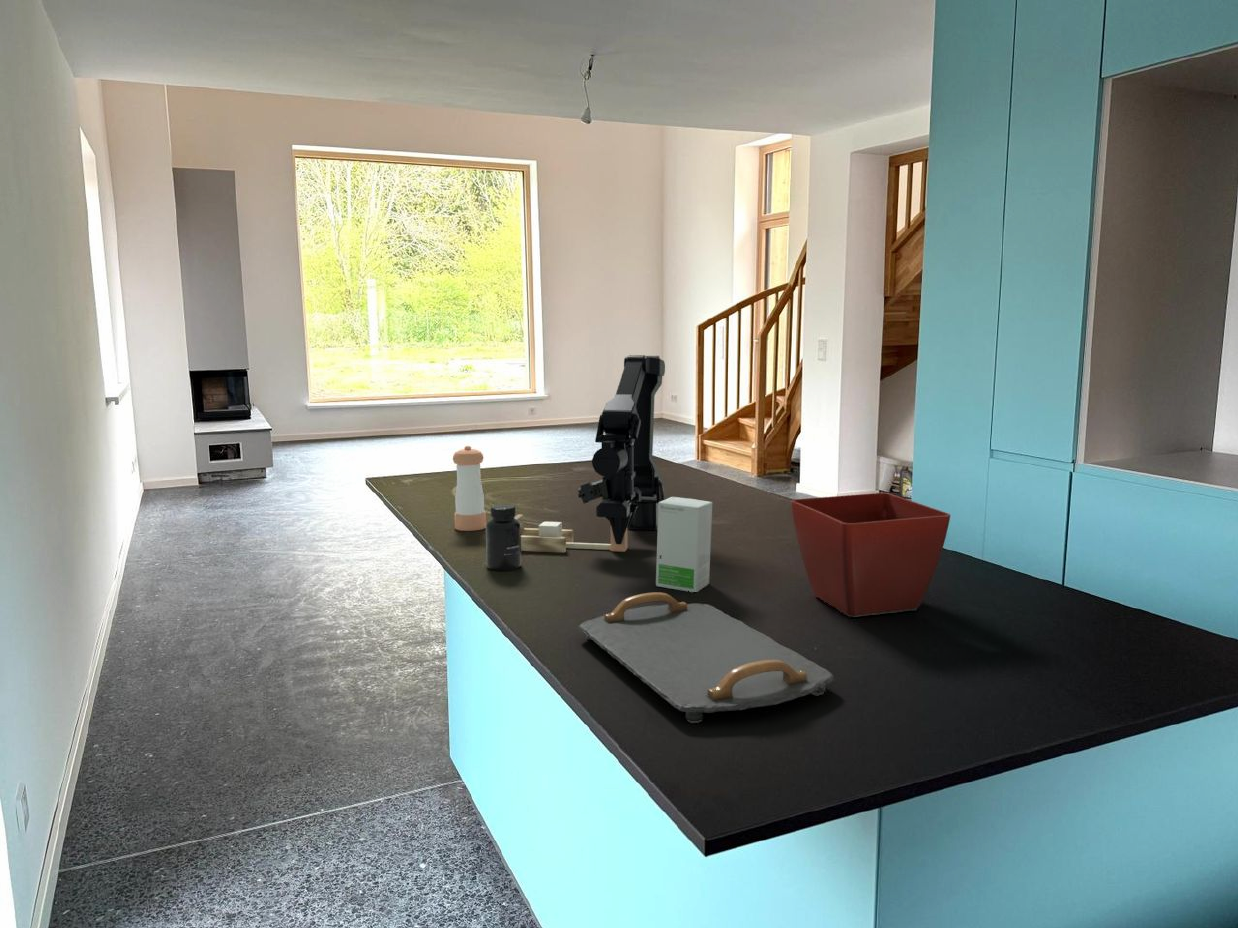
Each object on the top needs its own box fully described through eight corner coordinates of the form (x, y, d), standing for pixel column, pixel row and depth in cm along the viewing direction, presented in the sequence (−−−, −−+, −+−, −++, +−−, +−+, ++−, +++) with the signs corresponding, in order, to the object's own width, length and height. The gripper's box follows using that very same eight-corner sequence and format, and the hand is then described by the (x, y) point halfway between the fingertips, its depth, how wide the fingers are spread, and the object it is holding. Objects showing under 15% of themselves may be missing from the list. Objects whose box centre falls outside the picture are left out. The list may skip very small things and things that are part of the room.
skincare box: (655, 587, 159) (654, 502, 156) (670, 577, 164) (670, 495, 162) (698, 593, 155) (698, 506, 152) (712, 583, 161) (713, 499, 158)
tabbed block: (627, 547, 186) (627, 524, 186) (624, 552, 183) (624, 528, 182) (544, 544, 190) (543, 521, 189) (539, 548, 186) (538, 525, 185)
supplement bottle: (515, 572, 169) (513, 510, 167) (481, 570, 170) (479, 509, 168) (526, 562, 175) (524, 503, 174) (493, 561, 177) (491, 502, 175)
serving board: (568, 635, 136) (567, 597, 135) (699, 614, 145) (699, 577, 144) (692, 742, 101) (692, 691, 100) (853, 704, 111) (855, 657, 110)
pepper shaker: (469, 532, 201) (466, 449, 198) (448, 528, 205) (444, 446, 202) (492, 526, 207) (490, 445, 204) (471, 522, 211) (468, 443, 208)
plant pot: (841, 628, 137) (845, 522, 134) (786, 592, 155) (788, 498, 152) (948, 616, 142) (954, 514, 139) (882, 583, 160) (886, 492, 157)
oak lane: (573, 543, 191) (572, 516, 190) (564, 552, 183) (564, 524, 182) (518, 541, 193) (518, 514, 192) (508, 550, 185) (507, 522, 184)
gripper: (591, 460, 193) (592, 530, 195) (570, 475, 175) (571, 551, 177) (641, 461, 191) (642, 532, 193) (626, 476, 172) (626, 554, 175)
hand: (620, 541), depth 185 cm, fingers closed on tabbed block, 3 cm apart
